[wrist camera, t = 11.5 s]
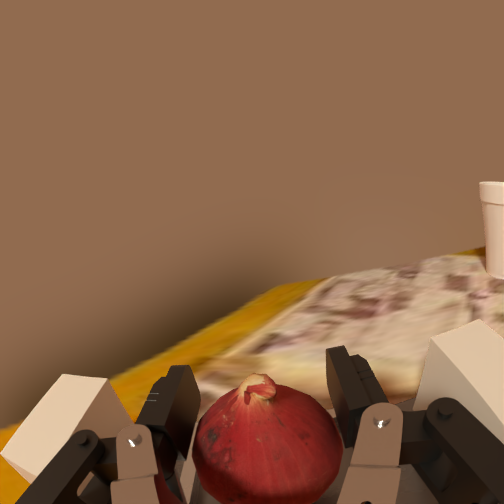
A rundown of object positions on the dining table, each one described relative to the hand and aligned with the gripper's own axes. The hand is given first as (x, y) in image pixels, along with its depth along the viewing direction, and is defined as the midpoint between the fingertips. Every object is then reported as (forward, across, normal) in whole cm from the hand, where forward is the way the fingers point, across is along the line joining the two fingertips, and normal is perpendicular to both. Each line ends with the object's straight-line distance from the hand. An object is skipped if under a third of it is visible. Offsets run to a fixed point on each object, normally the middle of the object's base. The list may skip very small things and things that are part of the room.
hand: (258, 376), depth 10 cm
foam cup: (+18, -36, +8) cm, 41 cm away
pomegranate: (-2, 0, +6) cm, 7 cm away
